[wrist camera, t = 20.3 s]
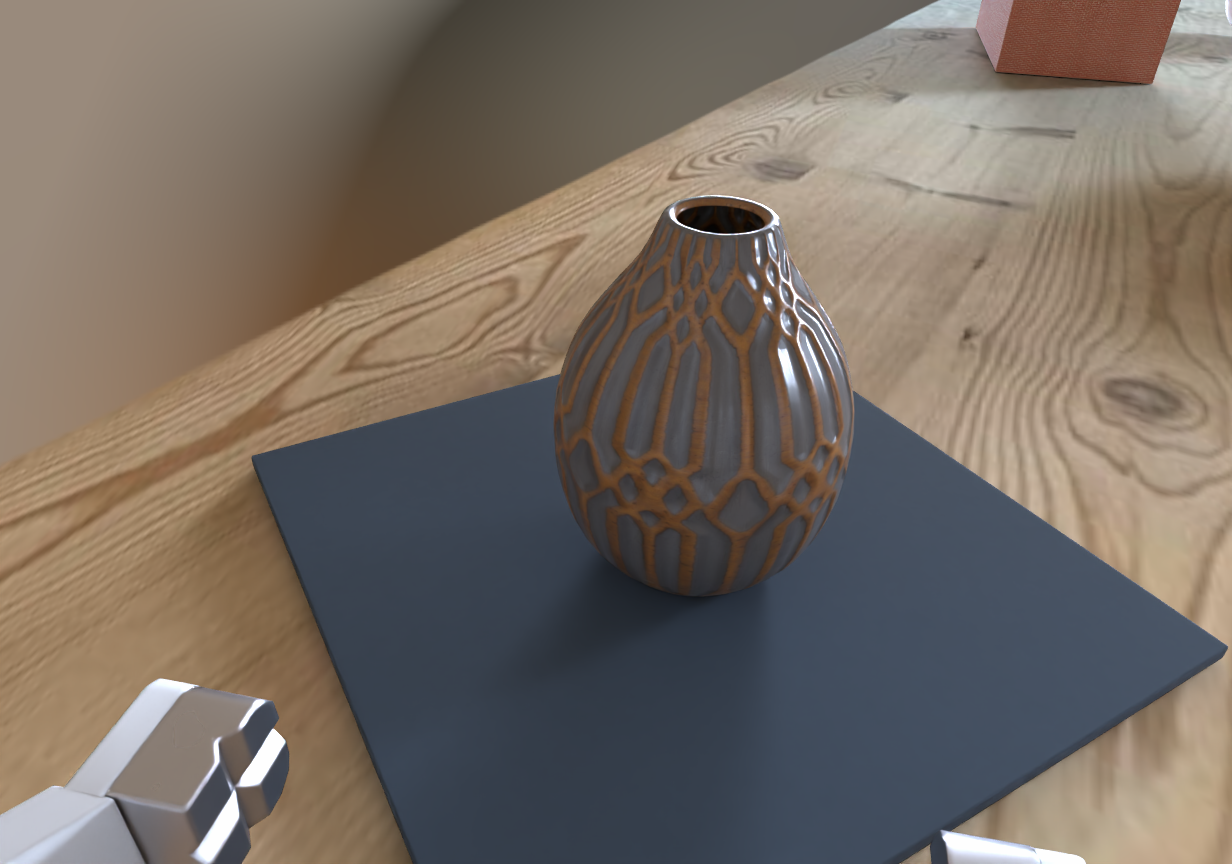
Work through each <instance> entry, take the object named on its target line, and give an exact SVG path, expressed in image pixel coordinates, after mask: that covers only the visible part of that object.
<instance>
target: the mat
mask: <svg viewBox="0 0 1232 864" xmlns="http://www.w3.org/2000/svg"><path fill="white" fill-rule="evenodd" d="M559 378H560V374H559V375H555V376H552V377H548V378H544V379H540V380H536V381H533V382H529V383H525V384H521V385H518V386H514V387H510V388H506V389H503V390H499V391H495V392H491V393H487V394H484V395H480V396H476V397H472V398H469V399H465V400H461V401H457V402H454V403H450V404H446V405H442V406H438V407H435V408H431V409H427V410H423V411H420V412H416V413H412V414H408V415H405V416H401V417H397V418H393V419H389V420H386V421H382V422H378V423H374V424H371V425H367V426H363V427H359V428H356V429H352V430H348V431H344V432H340V433H337V434H333V435H329V436H325V437H322V438H318V439H314V440H310V441H307V442H303V443H299V444H295V445H291V446H288V447H284V448H280V449H276V450H273V451H269V452H265V453H261V454H258V455H254V456H252V462H253V466H254V469H255V471H256V474H257V476H258V479H259V481H260V484H261V486H262V488H263V491H264V493H265V496H266V498H267V501H268V503H269V506H270V508H271V511H272V513H273V516H274V518H275V521H276V523H277V526H278V528H279V531H280V533H281V536H282V538H283V541H284V543H285V546H286V548H287V551H288V553H289V556H290V558H291V561H292V563H293V566H294V568H295V571H296V573H297V576H298V578H299V581H300V583H301V586H302V588H303V591H304V593H305V596H306V598H307V601H308V603H309V606H310V608H311V611H312V613H313V616H314V618H315V621H316V623H317V626H318V628H319V631H320V633H321V636H322V638H323V641H324V643H325V646H326V648H327V651H328V653H329V656H330V658H331V661H332V663H333V665H334V668H335V670H336V673H337V675H338V678H339V680H340V683H341V685H342V688H343V690H344V693H345V695H346V698H347V700H348V703H349V705H350V708H351V710H352V713H353V715H354V718H355V720H356V723H357V725H358V728H359V730H360V733H361V735H362V738H363V740H364V743H365V745H366V748H367V750H368V753H369V755H370V758H371V760H372V763H373V765H374V768H375V770H376V773H377V775H378V778H379V780H380V783H381V785H382V788H383V790H384V793H385V795H386V798H387V800H388V803H389V805H390V808H391V810H392V813H393V815H394V818H395V820H396V823H397V825H398V828H399V830H400V833H401V835H402V838H403V840H404V843H405V845H406V847H407V850H408V852H409V855H410V857H411V860H412V862H413V864H899V863H900V862H902V861H904V860H905V859H907V858H908V857H910V856H911V855H913V854H915V853H916V852H918V851H919V850H921V849H922V848H924V847H926V846H927V845H929V844H930V843H932V841H933V838H934V836H935V834H936V833H937V832H939V831H940V830H943V831H951V830H952V829H954V828H955V827H957V826H959V825H960V824H962V823H963V822H965V821H966V820H968V819H970V818H971V817H973V816H974V815H976V814H977V813H979V812H981V811H982V810H984V809H985V808H987V807H988V806H990V805H992V804H993V803H995V802H996V801H998V800H999V799H1001V798H1003V797H1004V796H1006V795H1007V794H1009V793H1010V792H1012V791H1014V790H1015V789H1017V788H1018V787H1020V786H1021V785H1023V784H1025V783H1026V782H1028V781H1029V780H1031V779H1032V778H1034V777H1036V776H1037V775H1039V774H1040V773H1042V772H1043V771H1045V770H1047V769H1048V768H1050V767H1051V766H1053V765H1054V764H1056V763H1058V762H1059V761H1061V760H1062V759H1064V758H1065V757H1067V756H1069V755H1070V754H1072V753H1073V752H1075V751H1076V750H1078V749H1080V748H1081V747H1083V746H1084V745H1086V744H1087V743H1089V742H1091V741H1092V740H1094V739H1095V738H1097V737H1098V736H1100V735H1102V734H1103V733H1105V732H1106V731H1108V730H1109V729H1111V728H1113V727H1114V726H1116V725H1117V724H1119V723H1120V722H1122V721H1124V720H1125V719H1127V718H1128V717H1130V716H1131V715H1133V714H1135V713H1136V712H1138V711H1139V710H1141V709H1142V708H1144V707H1146V706H1147V705H1149V704H1150V703H1152V702H1153V701H1155V700H1157V699H1158V698H1160V697H1161V696H1163V695H1164V694H1166V693H1168V692H1169V691H1171V690H1172V689H1174V688H1175V687H1177V686H1179V685H1180V684H1182V683H1183V682H1185V681H1186V680H1188V679H1190V678H1191V677H1193V676H1194V675H1196V674H1197V673H1199V672H1201V671H1202V670H1204V669H1205V668H1207V667H1208V666H1210V665H1212V664H1213V663H1215V662H1216V661H1218V660H1219V659H1221V658H1222V657H1223V656H1224V654H1225V652H1226V651H1227V649H1228V646H1227V645H1225V644H1224V643H1222V642H1221V641H1219V640H1218V639H1217V638H1215V637H1214V636H1212V635H1211V634H1209V633H1208V632H1206V631H1205V630H1203V629H1202V628H1200V627H1199V626H1197V625H1196V624H1195V623H1193V622H1192V621H1190V620H1189V619H1187V618H1186V617H1184V616H1183V615H1181V614H1180V613H1178V612H1177V611H1175V610H1174V609H1173V608H1171V607H1170V606H1168V605H1167V604H1165V603H1164V602H1162V601H1161V600H1159V599H1158V598H1156V597H1155V596H1154V595H1152V594H1151V593H1149V592H1148V591H1146V590H1145V589H1143V588H1142V587H1140V586H1139V585H1137V584H1136V583H1134V582H1133V581H1132V580H1130V579H1129V578H1127V577H1126V576H1124V575H1123V574H1121V573H1120V572H1118V571H1117V570H1115V569H1114V568H1112V567H1111V566H1110V565H1108V564H1107V563H1105V562H1104V561H1102V560H1101V559H1099V558H1098V557H1096V556H1095V555H1093V554H1092V553H1090V552H1089V551H1088V550H1086V549H1085V548H1083V547H1082V546H1080V545H1079V544H1077V543H1076V542H1074V541H1073V540H1071V539H1070V538H1068V537H1067V536H1066V535H1064V534H1063V533H1061V532H1060V531H1058V530H1057V529H1055V528H1054V527H1052V526H1051V525H1049V524H1048V523H1047V522H1045V521H1044V520H1042V519H1041V518H1039V517H1038V516H1036V515H1035V514H1033V513H1032V512H1030V511H1029V510H1027V509H1026V508H1025V507H1023V506H1022V505H1020V504H1019V503H1017V502H1016V501H1014V500H1013V499H1011V498H1010V497H1008V496H1007V495H1005V494H1004V493H1003V492H1001V491H1000V490H998V489H997V488H995V487H994V486H992V485H991V484H989V483H988V482H986V481H985V480H983V479H982V478H981V477H979V476H978V475H976V474H975V473H973V472H972V471H970V470H969V469H967V468H966V467H964V466H963V465H962V464H960V463H959V462H957V461H956V460H954V459H953V458H951V457H950V456H948V455H947V454H945V453H944V452H942V451H941V450H940V449H938V448H937V447H935V446H934V445H932V444H931V443H929V442H928V441H926V440H925V439H923V438H922V437H920V436H919V435H918V434H916V433H915V432H913V431H912V430H910V429H909V428H907V427H906V426H904V425H903V424H901V423H900V422H898V421H897V420H896V419H894V418H893V417H891V416H890V415H888V414H887V413H885V412H884V411H882V410H881V409H879V408H878V407H876V406H875V405H874V404H872V403H871V402H869V401H868V400H866V399H865V398H863V397H862V396H860V395H859V394H857V393H856V392H855V391H853V398H854V435H853V442H852V448H851V454H850V459H849V463H848V467H847V471H846V475H845V478H844V481H843V484H842V487H841V490H840V493H839V496H838V499H837V501H836V503H835V505H834V507H833V509H832V511H831V513H830V515H829V517H828V519H827V520H826V522H825V524H824V525H823V527H822V528H821V530H820V531H819V533H818V534H817V536H816V537H815V538H814V540H813V541H812V542H811V544H810V545H809V546H808V547H807V548H806V549H805V550H804V551H803V552H802V553H801V555H800V556H799V557H798V558H797V559H796V560H795V561H794V562H793V563H791V564H790V565H789V566H788V567H786V568H785V569H783V570H782V571H780V572H779V573H777V574H775V575H774V576H772V577H770V578H768V579H767V580H765V581H763V582H761V583H759V584H757V585H754V586H752V587H749V588H746V589H742V590H739V591H735V592H731V593H727V594H722V595H714V596H683V595H677V594H672V593H668V592H664V591H661V590H658V589H655V588H652V587H650V586H647V585H645V584H643V583H641V582H639V581H637V580H635V579H633V578H631V577H629V576H628V575H626V574H624V573H623V572H621V571H620V570H618V569H617V568H616V567H614V566H613V565H612V564H611V563H610V562H608V561H607V560H606V559H605V558H604V557H603V556H602V555H601V554H600V553H599V552H598V551H597V550H596V549H595V548H594V547H593V546H592V545H591V544H590V542H589V541H588V540H587V538H586V537H585V535H584V534H583V532H582V530H581V529H580V527H579V525H578V524H577V522H576V520H575V519H574V516H573V514H572V512H571V510H570V507H569V505H568V503H567V500H566V498H565V495H564V492H563V488H562V485H561V481H560V478H559V474H558V469H557V462H556V454H555V442H554V406H555V399H556V392H557V387H558V382H559Z"/></svg>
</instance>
